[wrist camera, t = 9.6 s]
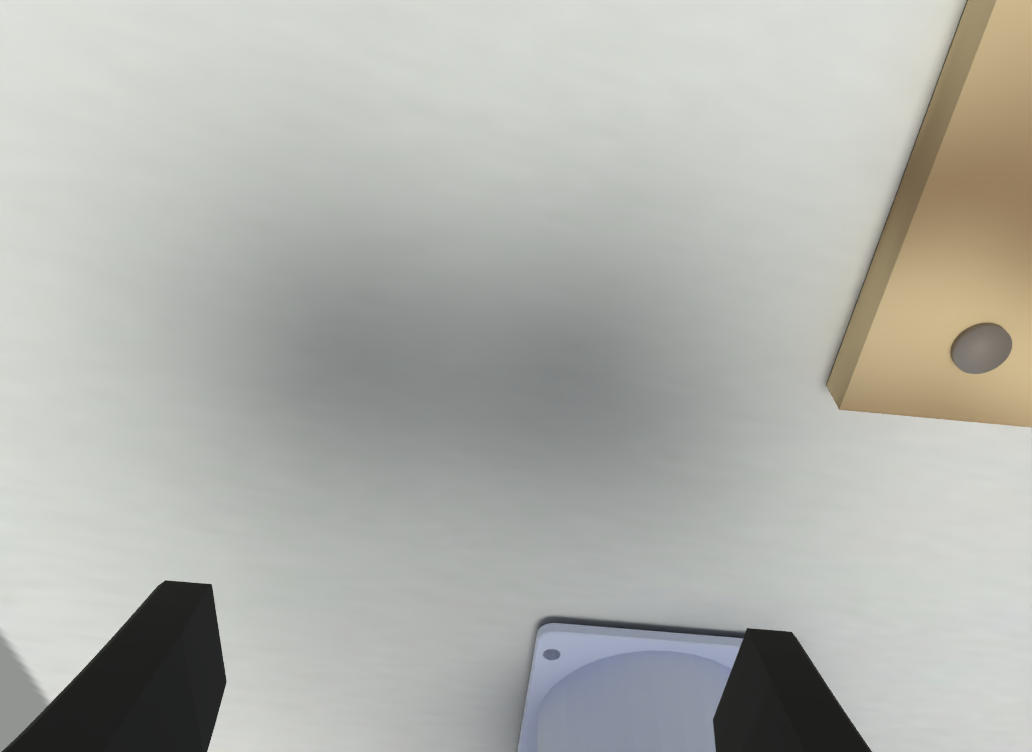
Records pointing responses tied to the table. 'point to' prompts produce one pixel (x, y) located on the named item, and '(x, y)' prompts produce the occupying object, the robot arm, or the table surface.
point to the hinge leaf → (956, 246)
